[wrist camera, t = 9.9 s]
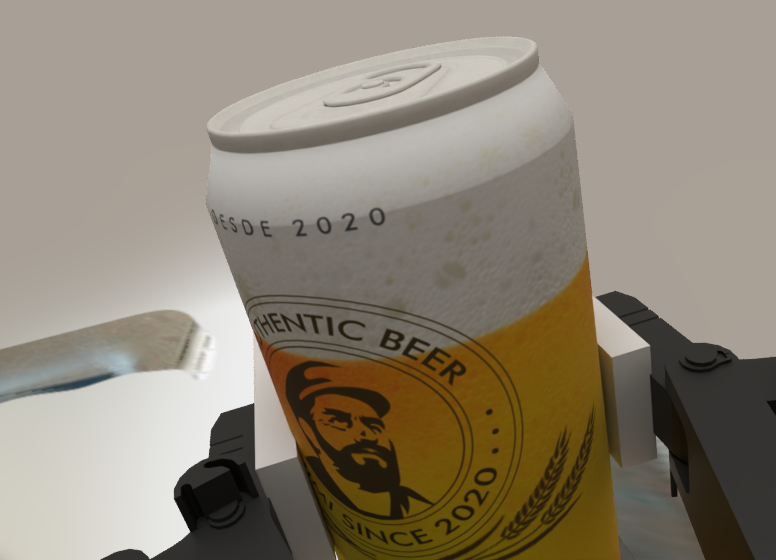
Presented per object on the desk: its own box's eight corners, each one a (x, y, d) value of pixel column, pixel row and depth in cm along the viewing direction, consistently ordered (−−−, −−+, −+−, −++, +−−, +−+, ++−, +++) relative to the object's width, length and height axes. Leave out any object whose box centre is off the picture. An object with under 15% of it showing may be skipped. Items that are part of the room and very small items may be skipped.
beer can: (352, 749, 16) (95, 160, 10) (440, 549, 21) (307, 64, 14) (613, 852, 13) (496, 110, 7) (646, 593, 18) (597, 10, 11)
